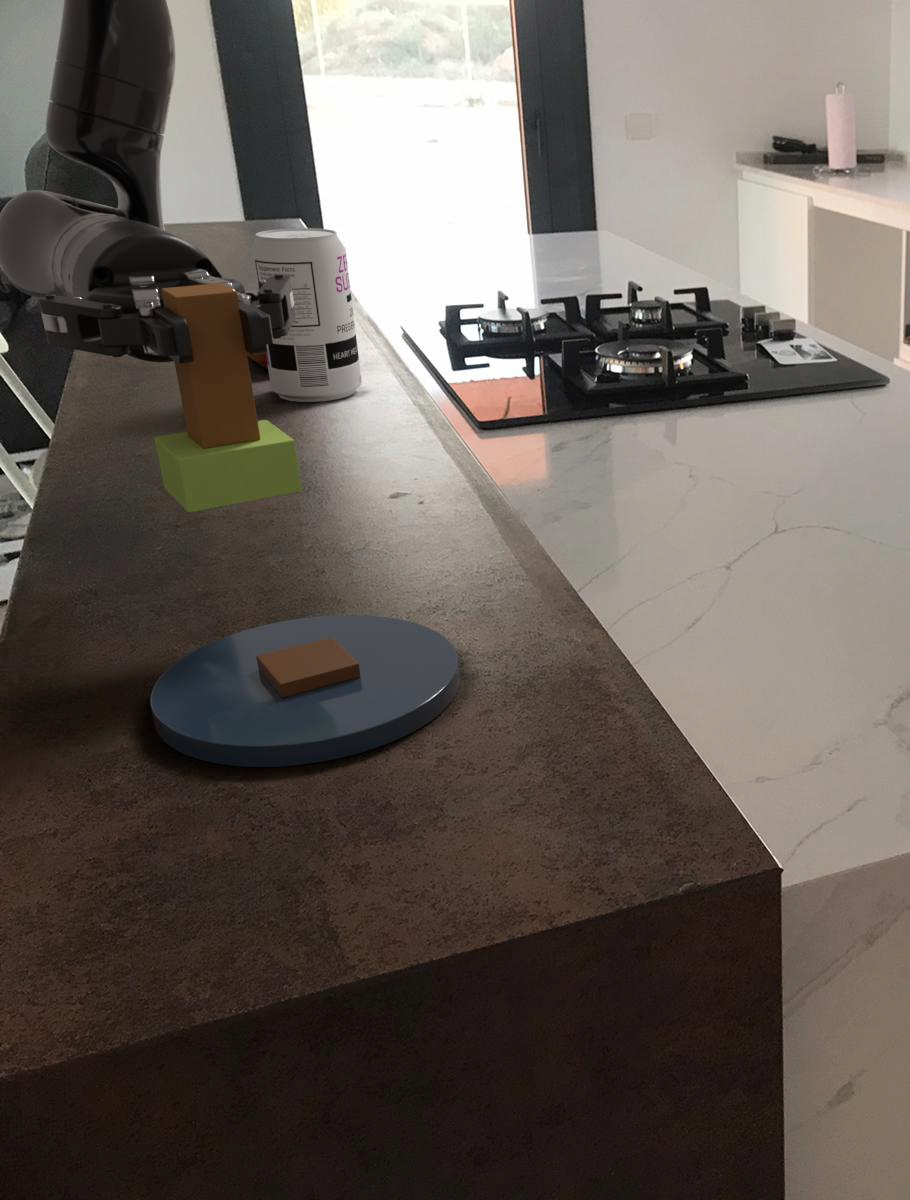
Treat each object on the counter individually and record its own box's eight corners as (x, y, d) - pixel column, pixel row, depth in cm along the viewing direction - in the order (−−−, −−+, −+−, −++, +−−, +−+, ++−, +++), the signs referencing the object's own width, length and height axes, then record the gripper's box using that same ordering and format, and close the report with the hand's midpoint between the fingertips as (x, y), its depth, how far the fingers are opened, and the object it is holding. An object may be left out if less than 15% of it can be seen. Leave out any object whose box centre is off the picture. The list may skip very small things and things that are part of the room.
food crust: (282, 698, 64) (279, 684, 64) (257, 669, 67) (255, 655, 66) (361, 677, 66) (359, 663, 66) (334, 649, 69) (332, 636, 69)
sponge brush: (188, 513, 68) (148, 303, 63) (164, 488, 71) (124, 288, 67) (302, 492, 71) (272, 291, 66) (274, 469, 75) (244, 277, 70)
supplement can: (260, 390, 124) (235, 231, 118) (343, 379, 129) (323, 225, 123) (290, 408, 118) (266, 241, 112) (376, 395, 123) (357, 234, 117)
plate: (199, 802, 57) (194, 779, 57) (123, 678, 68) (119, 658, 68) (507, 709, 66) (506, 688, 65) (396, 612, 77) (394, 594, 76)
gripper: (-7, 232, 72) (51, 276, 60) (250, 216, 80) (348, 252, 68) (23, 363, 75) (85, 431, 63) (268, 335, 83) (366, 391, 71)
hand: (221, 338), depth 65 cm, fingers closed on sponge brush, 3 cm apart
